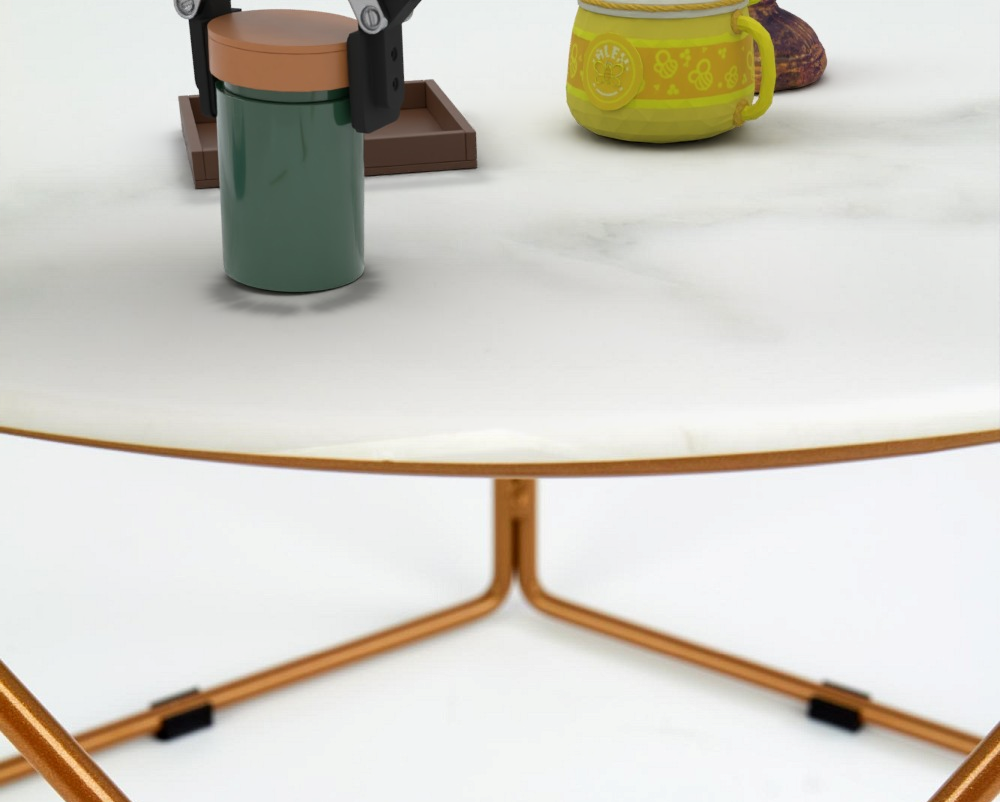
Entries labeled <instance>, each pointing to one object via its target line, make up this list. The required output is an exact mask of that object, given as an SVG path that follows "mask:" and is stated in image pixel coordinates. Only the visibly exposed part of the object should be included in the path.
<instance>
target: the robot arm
mask: <svg viewBox="0 0 1000 802" xmlns="http://www.w3.org/2000/svg"><path fill="white" fill-rule="evenodd" d="M172 1H173V2H172V3H173V7H174V10H175V12H176V14H177V15H178V16H179V17H180V18H181V19H184V20H188V28H189V29H188V30H189V39H190V40H189V41H190V48H191V57H192V58H191V59H192V65H193V66H192V67H193V77H194V83H195V86H196V88H197V90H198V95H199V99H200V108H201V113H202V115H203V116H205V117H214V118H215V117H217V116H216V95H215V83H216V81H217V80H218V78H217V77H215V76H214V75H212V74H211V72H210V68H209V47H208V23H209V22H210V21H211V20H213V19H214V18H217V17H219V16H222V15H226V14H230V13H235V12H241V11H243V9H242V8H241V7H240V8H239V7H232V0H172ZM347 1H348V3H349V6H350V8H351V10H352V13H353V14H354V17H355V19H356V20H357V21H358V30H357V31H355V32H352V33H350V34H349V36H348V38H347V57H348V74H349V91H350V108H351V124H352V127H353V129H355V130H356V132H358V133H367V134H369V133H372V132H374V131H376V130H378V129H380V128H382V127H384V126H386V125H388V124H390V123H392V122H394V121H396V120H397V119H398V118H399V115H400V107H401V105H402V103H403V100H404V95H405V85H404V81H405V64H404V62H405V61H404V41H403V40H404V39H403V24H404V23H406V22H408V21H410V20H411V19H412V17H413V15H414V11H415V9H416V8H417V7H418V5H419V4H420V3H422V1H423V0H347Z"/></svg>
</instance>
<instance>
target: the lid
mask: <svg viewBox="0 0 1000 802" xmlns="http://www.w3.org/2000/svg"><path fill="white" fill-rule="evenodd" d="M357 30H358V21H357V19H356V18H353V17H350V16H346V15H341V14H338V13H331V12H327V11H326V12H325V11H318V10H309V9H296V8H295V9H291V8H267V9H266V8H265V9H250V10H242V11H241V12H235V13H230V14H226V15H222V16H219V17H217V18H214V19H213V20H211V21H210V22H209V23H208V47H209V68H210V72H211V74H212V75H214V76H215V77H217V78H218V79H219V80H222V81H225V82H228V83H230V84H233V85H237V86H242V87H247V88H253V89H259V90H270V91H281V92H311V91H324V90H333V89H339V88H344V87H349V74H348V57H347V38H348V36H349V34H350V33H352V32H355V31H357Z"/></svg>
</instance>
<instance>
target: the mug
mask: <svg viewBox="0 0 1000 802" xmlns="http://www.w3.org/2000/svg"><path fill="white" fill-rule="evenodd" d="M576 1H577V5H578V8H577V12H576V14H575V17H574V21H573V25H572V29H571V37H570V44H569V51H568V59H567V60H568V62H567V70H566V71H567V73H566V83H565V94H566V95H565V96H566V104H567V107H568V109H569V111H570V114H571V116H572V117H573V119H574V120H575V121H576V123H577V124H579V125H580V126H581V127H583V128H585V129H586V130H589V131H590V132H591V133H594V134H595V135H598V136H603V137H607V138H611V139H617V140H622V141H627V142H640V143H651V144H668V143H678V142H679V143H680V142H689V141H690V142H691V141H696V140H697V141H699V140H704V139H710V138H713V137H716V136H718V135H721V134H723V133H726V132H729V131H731V130H734V129H735V128H740V127H742V126H743V125H744V124H745V123H746V122H747V121H754V120H758V119H759V118H760V117H762V116H764V115H765V114H766V113H767V111H768V110H769V109H770V107H771V105H772V104H773V101H774V93H775V91H774V87H775V80H776V68H775V57H774V46H773V43H772V40H771V37H770V34H769V33H768V32H767V31H766V29H765V28H764V27H763V26H762V25H761V24H760V23H759V22H757V21H756V20H754V19H753V18H751V17H750V16H749V12H748V7H747V6H749V5H753V4H756V3H758V2H759V1H761V0H576ZM753 39H754V40H755V41H756V43H757V44H758V48H759V51H760V55H761V73H762V80H761V86H760V92H759V93H758V98H757V100H756V101H755V103H753V102H754V100H755V93H754V91H755V70H754V47H753Z"/></svg>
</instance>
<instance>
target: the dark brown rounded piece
mask: <svg viewBox="0 0 1000 802" xmlns="http://www.w3.org/2000/svg"><path fill="white" fill-rule="evenodd" d="M747 7H748V12H749V16H750V17H751V18H753V19H754V20H756V21H757V22H759V23H760V24H761V25H762V26H763V27H764V28H765V29H766V31H767V32H768V33H769V34H770V37H771V40H772V43H773V46H774V57H775V68H776V80H775V87H774V92H775V91H783V90H787V89H798V88H802V87H805V86H806V87H807V86H808V85H810V84H813V83H815V82H817V81H818V80H819V79H821V77H822V76H823V74H824V72H825V71H826V69H827V67H828V58H827V53H826V49H825V47H824V46H823V43H822V42H821V41H820V39H819V37H818V34H817V33H816V31H815V30H814V29H813V27H812V26H811V25H810V24H809V23H808V22H806V21H805V20H803V19H802V18H801V17H799V16H798V15H796V14H794V13H792V12H791V11H788V10H787V9H784V8H782V7H780V6H779V4H778V3H777V0H761V1H759V2H758V3H756V4H753V5H749V6H747ZM753 47H754V70H755V91H754V94H759V92H760V86H761V80H762V73H761V55H760V51H759V48H758V44H757V43H756V41H755V40H754V39H753Z"/></svg>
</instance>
